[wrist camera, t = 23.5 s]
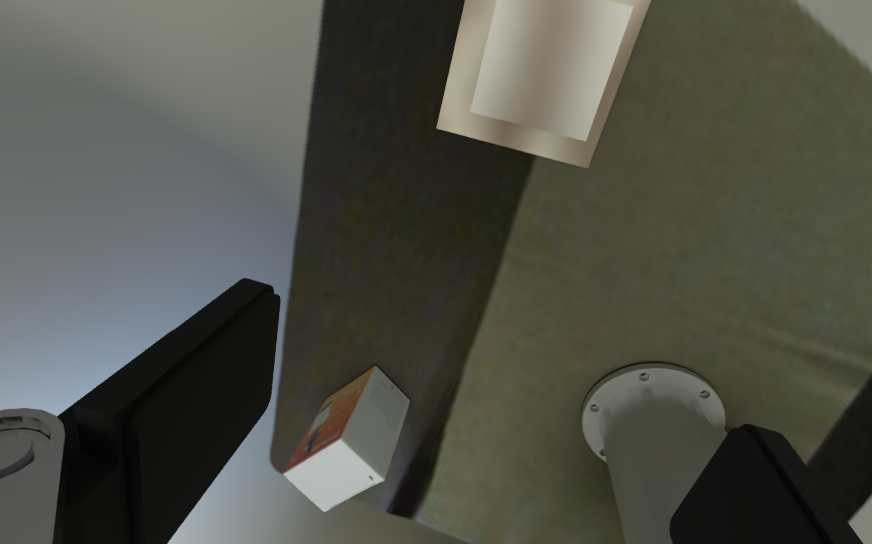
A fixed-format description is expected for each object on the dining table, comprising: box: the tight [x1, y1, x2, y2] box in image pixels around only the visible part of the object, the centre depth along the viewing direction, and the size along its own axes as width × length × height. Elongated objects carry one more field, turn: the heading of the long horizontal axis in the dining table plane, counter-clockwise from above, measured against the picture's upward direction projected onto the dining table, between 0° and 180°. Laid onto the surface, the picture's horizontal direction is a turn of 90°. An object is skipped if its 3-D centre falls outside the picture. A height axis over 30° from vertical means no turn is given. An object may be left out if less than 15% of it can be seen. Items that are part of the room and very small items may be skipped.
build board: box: [437, 0, 651, 169], centre depth 33 cm, size 12×12×1 cm
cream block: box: [470, 0, 633, 141], centre depth 25 cm, size 6×6×6 cm
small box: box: [283, 366, 410, 512], centre depth 44 cm, size 8×6×10 cm
